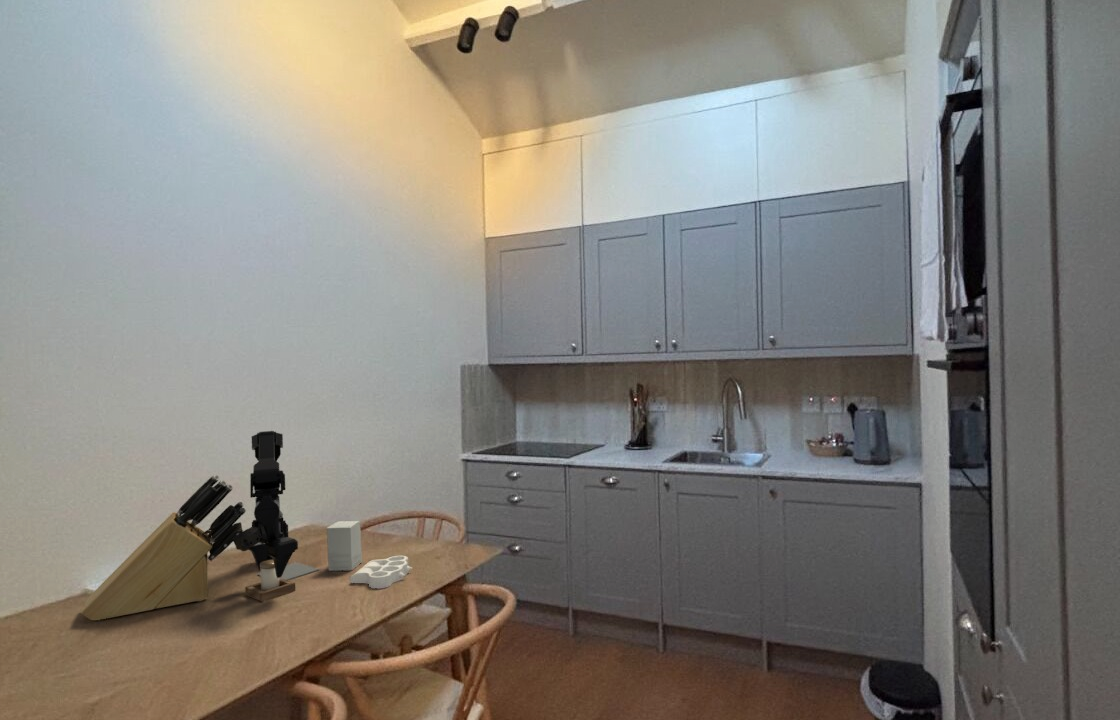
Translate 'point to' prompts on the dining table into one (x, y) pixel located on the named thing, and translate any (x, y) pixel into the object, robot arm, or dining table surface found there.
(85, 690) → the dining table surface
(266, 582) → the jar
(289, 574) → the mat
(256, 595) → the pocket frame
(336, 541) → the supplement box
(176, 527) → the knife block
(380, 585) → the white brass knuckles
